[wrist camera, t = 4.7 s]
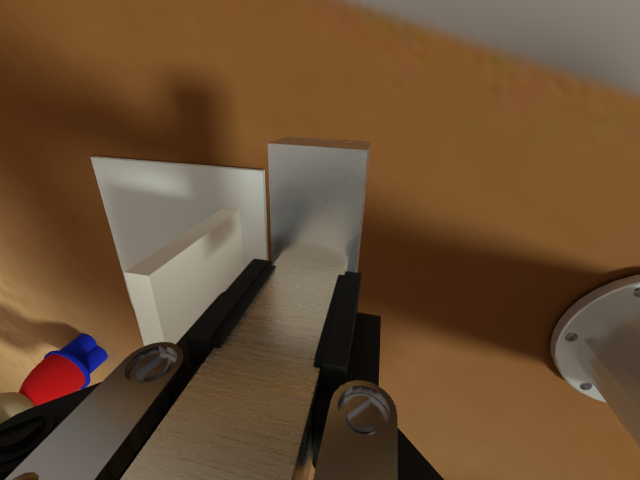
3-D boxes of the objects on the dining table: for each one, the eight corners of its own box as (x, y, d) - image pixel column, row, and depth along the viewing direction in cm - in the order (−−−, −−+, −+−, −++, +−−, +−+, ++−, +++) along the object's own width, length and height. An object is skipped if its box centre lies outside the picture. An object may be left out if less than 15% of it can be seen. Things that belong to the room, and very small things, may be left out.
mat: (264, 169, 24) (262, 171, 24) (271, 325, 31) (269, 328, 31) (95, 156, 27) (90, 157, 26) (135, 302, 34) (131, 304, 33)
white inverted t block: (371, 141, 10) (289, 320, 2) (348, 356, 15) (292, 705, 6) (287, 136, 11) (-70, 259, 2) (289, 345, 15) (162, 654, 7)
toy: (51, 335, 39) (-121, 454, 26) (84, 316, 36) (-91, 440, 23) (94, 377, 41) (-46, 507, 28) (128, 362, 38) (-10, 501, 25)
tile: (239, 210, 26) (148, 275, 16) (246, 296, 29) (176, 393, 20) (220, 208, 26) (120, 271, 16) (230, 294, 30) (153, 388, 20)
